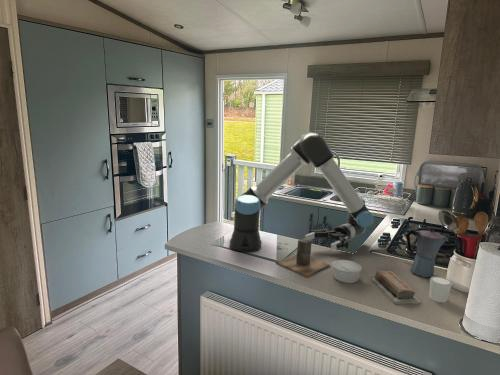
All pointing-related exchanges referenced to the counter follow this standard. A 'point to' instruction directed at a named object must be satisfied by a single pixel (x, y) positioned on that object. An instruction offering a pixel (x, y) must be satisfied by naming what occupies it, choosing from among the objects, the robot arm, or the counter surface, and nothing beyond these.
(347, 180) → the robot arm
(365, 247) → the counter surface
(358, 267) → the ramekin
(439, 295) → the white cup
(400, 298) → the packaged product
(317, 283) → the counter surface
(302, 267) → the board with upright post
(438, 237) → the moka pot
